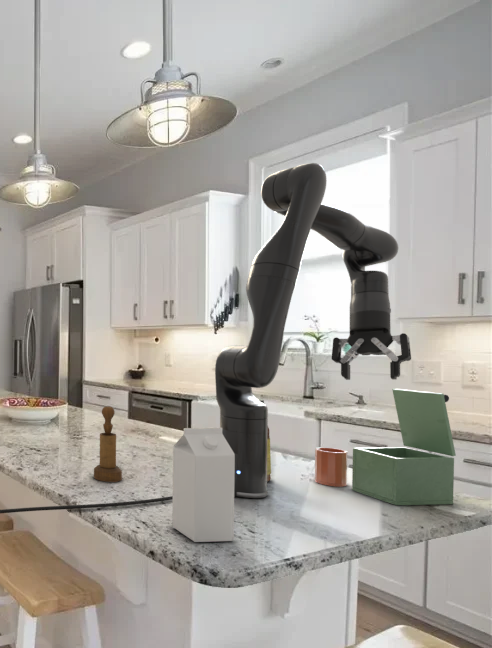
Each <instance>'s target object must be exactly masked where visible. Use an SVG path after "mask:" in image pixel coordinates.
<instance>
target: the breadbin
mask: <svg viewBox="0 0 492 648" xmlns="http://www.w3.org/2000/svg"><path fill="white" fill-rule="evenodd" d="M351 472H352V475H351V476H352V477H351V479H352V480H351V483H352V484H351V490H352V491H354V492H357V493H360V494H363V495H365V496H367V497H371V498H373V499H376V500H379V501H382V502H385V503H389V504H391V505H393V506H432V505H435V506H437V505H439V506H440V505H453V504H454V484H455V483H454V482H455V481H454V479H455V457H453V456H449V455H444V454H440V453H435V452H430V451H426V450H421V449H417V448H412V447H408V446H390V447H389V446H386V447H385V446H382V447H381V446H380V447H379V446H378V447H352V471H351Z"/></svg>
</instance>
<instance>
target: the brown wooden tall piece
mask: <svg viewBox="0 0 492 648" xmlns="http://www.w3.org/2000/svg"><path fill="white" fill-rule="evenodd" d="M101 415H102V417H103V419H104V423H103V424H102V426H103V432H100V433H99V464H98V465H96V466H95V467H93V478H94V479H95V480H97V481H101V482H105V483H106V482H107V483H116V482H121V481H123V470H122V469H121V468H120V466H118V465H117V433H115V432H112V431H113V426H114V425H113V424H112V419H113V417H114V416H115V409H114V407H112V406H109V405H107V406H104V407H103V408H102V409H101Z"/></svg>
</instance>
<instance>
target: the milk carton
mask: <svg viewBox="0 0 492 648" xmlns="http://www.w3.org/2000/svg"><path fill="white" fill-rule="evenodd" d="M234 475H235V454H234V452H233V451H232V449H231V447H230V446H229V444H228V442H227V441H226V439H225V437H224V436H223V434H222V428H220V427H185V428H183V434H182V435H181V436H180V437H179V439H178V440H177V441H176V442H175V444H174V445H173V446H172V496H173V500H172V506H171V507H172V509H171V510H172V511H171V512H172V513H171V515H172V516H171V519H172V520H171V522H172V523H171V527H172V528H173V529H175V530H176V531H178V532H179V533H181V535H184V536H185V537H186V538H188V539H190V540H191V541H193V542H194V543H209V542H234V539H235V537H234V536H235V535H234V534H235V496H234Z"/></svg>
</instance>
